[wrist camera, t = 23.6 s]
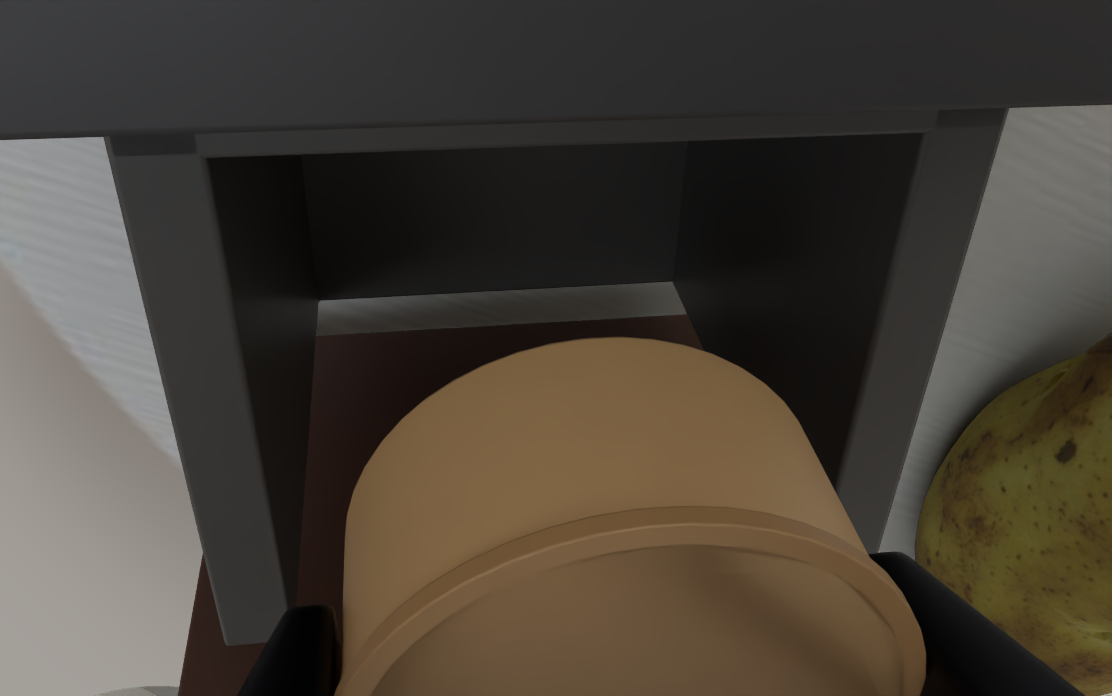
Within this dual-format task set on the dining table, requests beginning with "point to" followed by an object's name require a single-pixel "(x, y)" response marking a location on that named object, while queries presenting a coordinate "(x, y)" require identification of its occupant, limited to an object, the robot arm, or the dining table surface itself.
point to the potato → (1034, 517)
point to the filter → (612, 541)
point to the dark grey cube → (529, 61)
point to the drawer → (515, 264)
